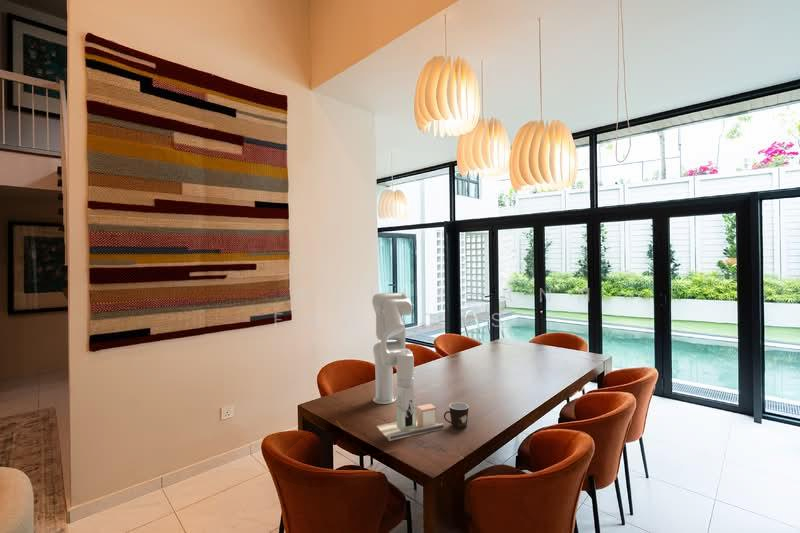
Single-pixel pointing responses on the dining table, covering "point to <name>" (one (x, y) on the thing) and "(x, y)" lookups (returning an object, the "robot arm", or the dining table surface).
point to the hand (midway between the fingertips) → (406, 422)
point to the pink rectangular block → (426, 415)
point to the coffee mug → (458, 415)
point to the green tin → (401, 419)
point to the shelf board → (395, 433)
